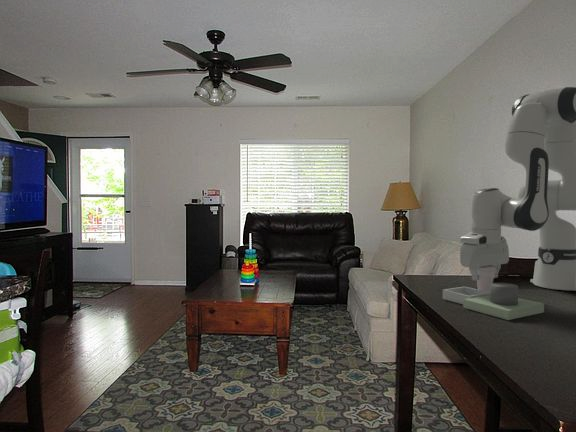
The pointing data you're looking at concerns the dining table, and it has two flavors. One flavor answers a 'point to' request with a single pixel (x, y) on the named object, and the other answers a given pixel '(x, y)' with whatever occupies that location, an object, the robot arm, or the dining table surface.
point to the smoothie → (485, 277)
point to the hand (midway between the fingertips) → (485, 278)
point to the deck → (502, 309)
